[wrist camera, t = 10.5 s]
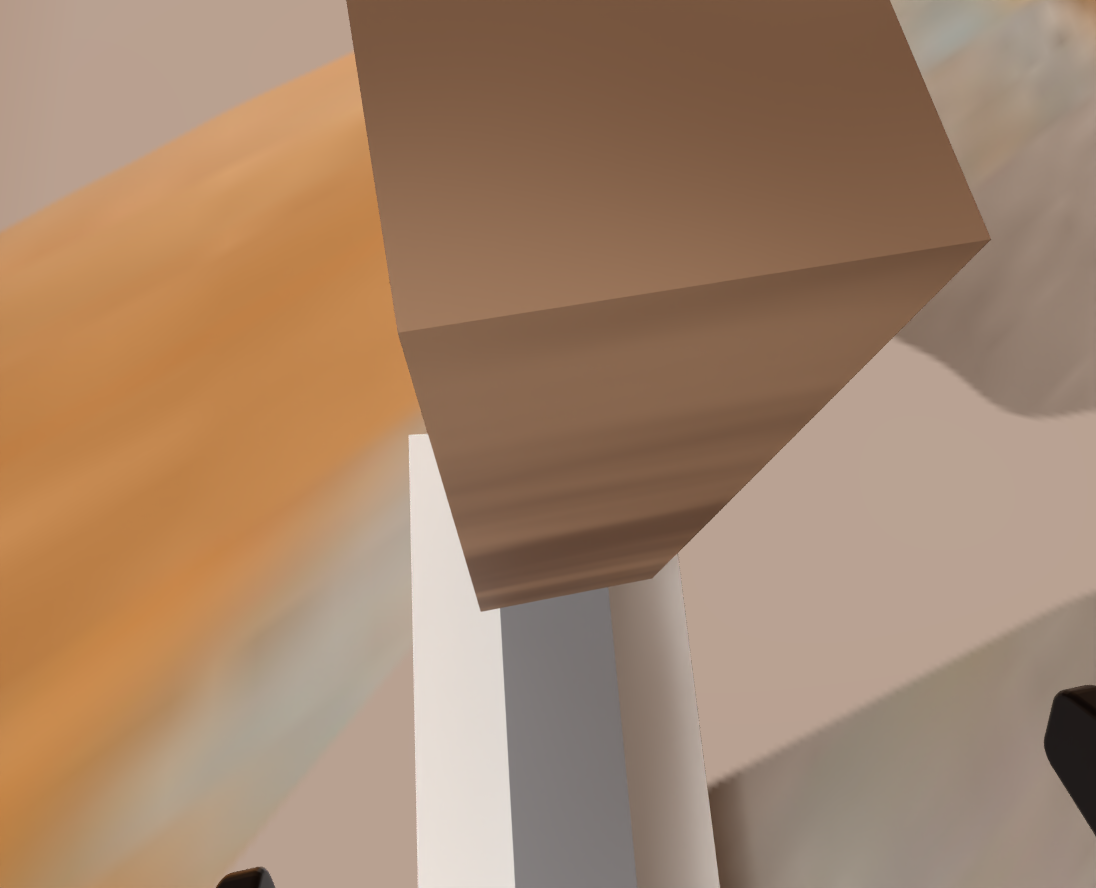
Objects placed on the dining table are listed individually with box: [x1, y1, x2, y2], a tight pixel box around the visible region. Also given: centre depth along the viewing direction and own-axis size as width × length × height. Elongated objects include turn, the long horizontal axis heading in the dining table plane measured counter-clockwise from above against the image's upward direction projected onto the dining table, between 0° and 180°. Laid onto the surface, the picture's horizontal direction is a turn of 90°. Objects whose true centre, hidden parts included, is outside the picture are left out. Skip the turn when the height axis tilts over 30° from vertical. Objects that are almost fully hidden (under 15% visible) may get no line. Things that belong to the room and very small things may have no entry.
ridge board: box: [409, 434, 720, 888], centre depth 19 cm, size 18×7×4 cm, turn 4°
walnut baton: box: [346, 0, 991, 612], centre depth 13 cm, size 4×4×14 cm
